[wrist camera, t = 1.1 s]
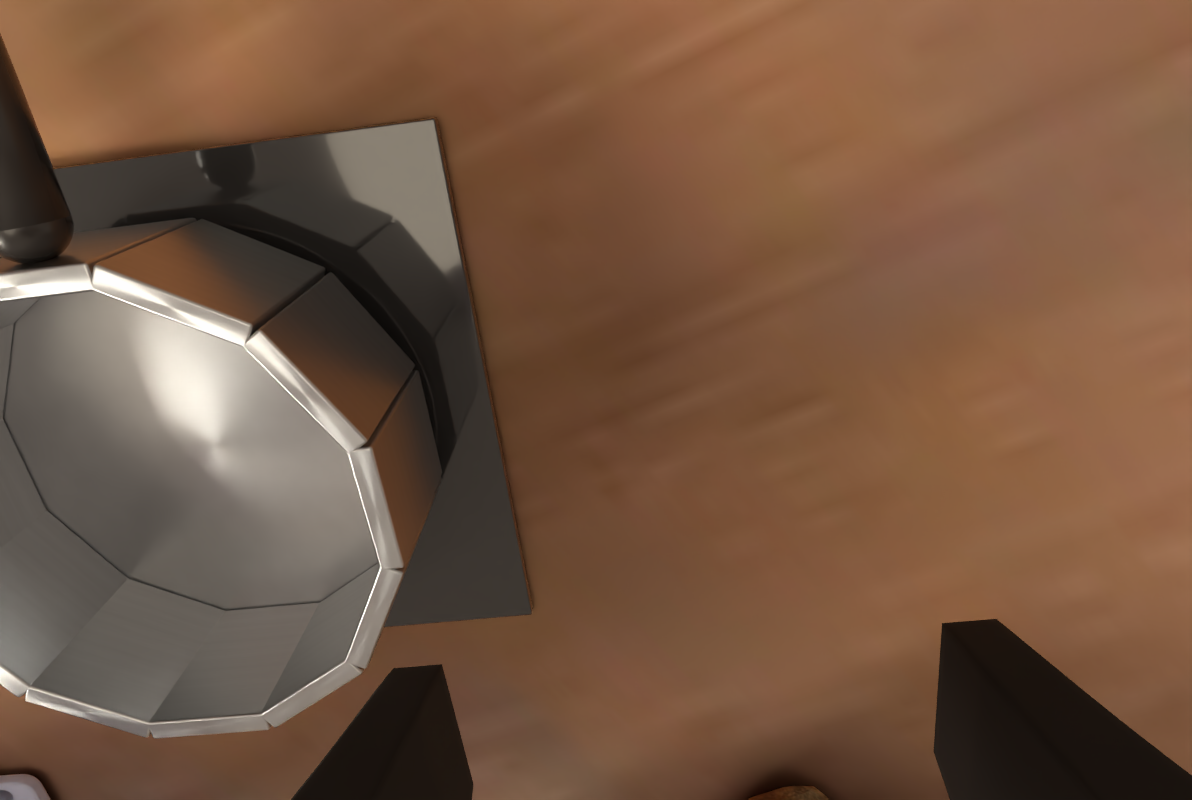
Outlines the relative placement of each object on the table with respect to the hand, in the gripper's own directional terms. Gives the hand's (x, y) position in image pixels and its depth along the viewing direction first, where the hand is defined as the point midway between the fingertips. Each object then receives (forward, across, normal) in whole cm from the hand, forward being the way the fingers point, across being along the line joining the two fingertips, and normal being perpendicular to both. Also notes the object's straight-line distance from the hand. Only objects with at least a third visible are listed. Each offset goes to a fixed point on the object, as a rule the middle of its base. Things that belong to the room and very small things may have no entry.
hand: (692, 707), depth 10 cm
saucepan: (+10, +11, -3) cm, 15 cm away
